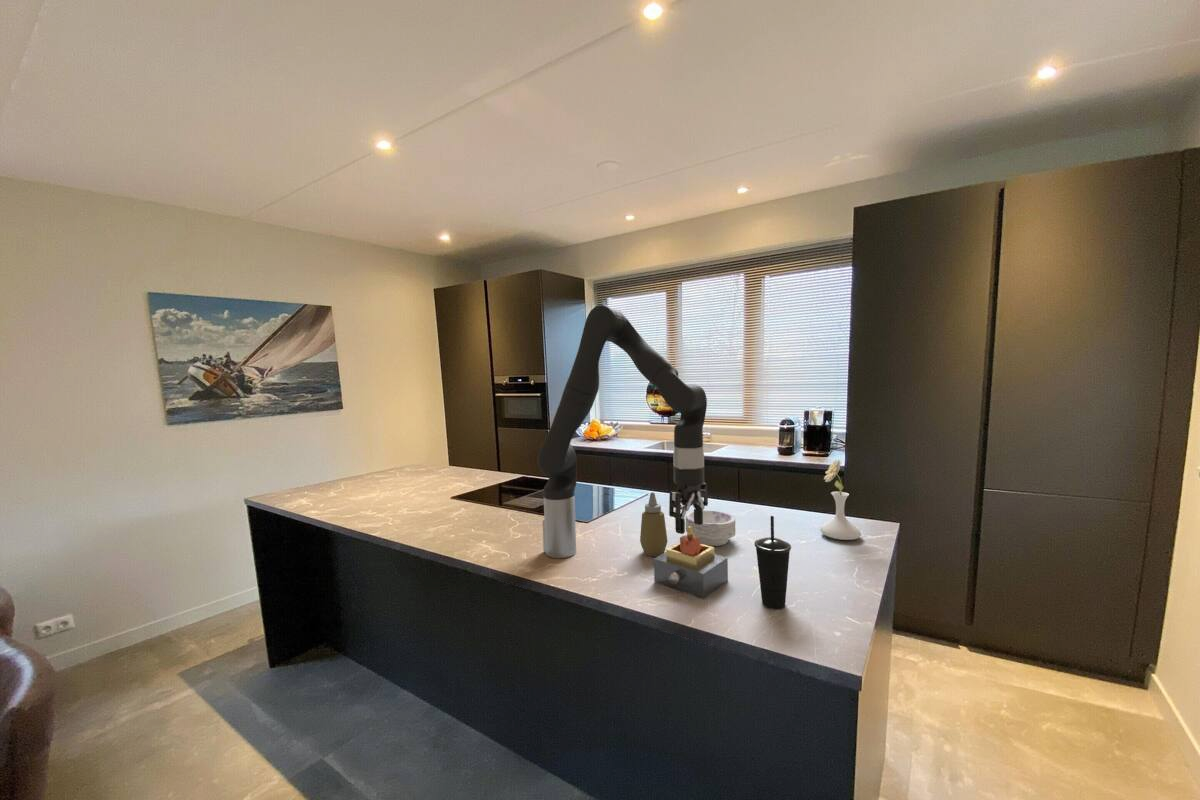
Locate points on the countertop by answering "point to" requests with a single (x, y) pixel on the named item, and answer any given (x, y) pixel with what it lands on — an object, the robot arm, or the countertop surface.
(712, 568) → the grey drawer box
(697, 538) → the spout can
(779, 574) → the drinking cup
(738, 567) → the countertop surface
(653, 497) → the squeeze bottle
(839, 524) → the flower in vase
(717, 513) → the paper bowls
